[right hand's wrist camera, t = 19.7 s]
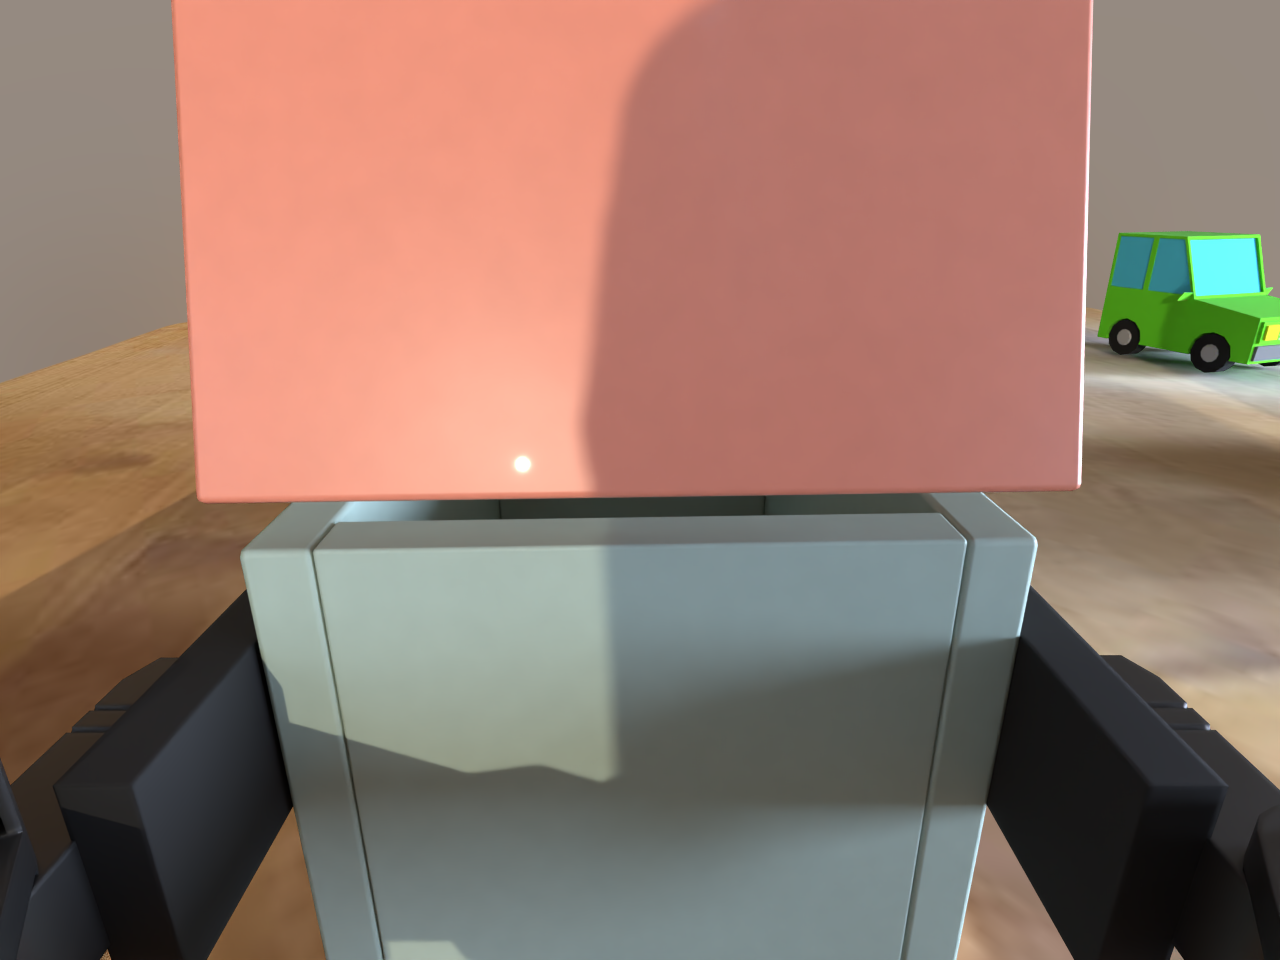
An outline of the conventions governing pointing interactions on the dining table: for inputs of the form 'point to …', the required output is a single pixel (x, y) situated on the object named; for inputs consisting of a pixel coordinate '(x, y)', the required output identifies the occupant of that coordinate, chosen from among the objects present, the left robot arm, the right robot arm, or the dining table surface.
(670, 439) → the lid
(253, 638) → the right robot arm
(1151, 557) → the dining table surface
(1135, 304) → the toy car
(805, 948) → the chest
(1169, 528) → the dining table surface
